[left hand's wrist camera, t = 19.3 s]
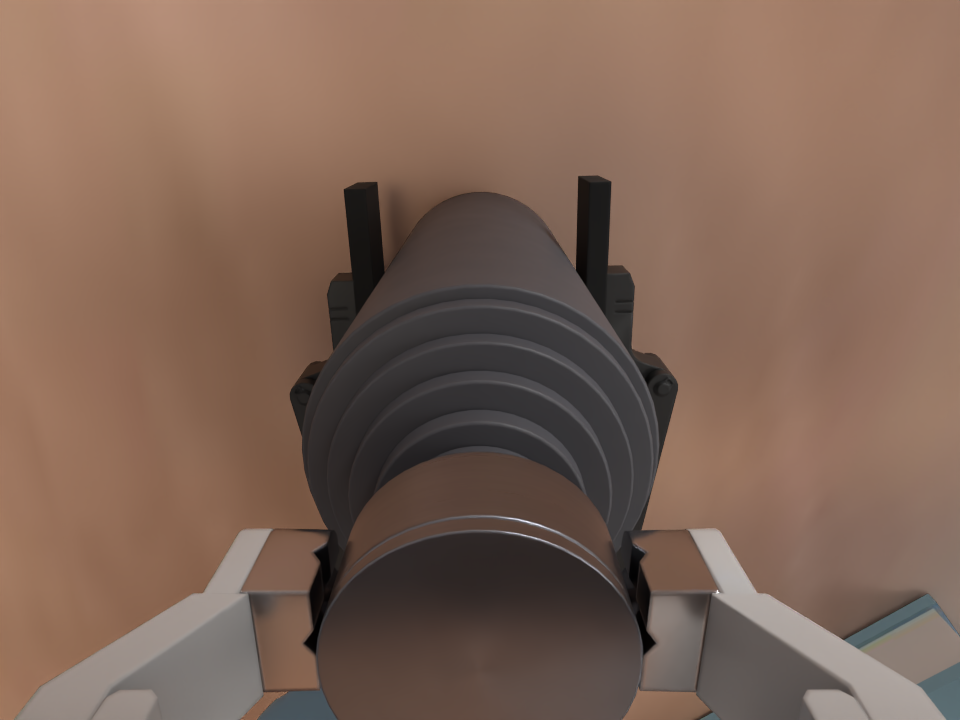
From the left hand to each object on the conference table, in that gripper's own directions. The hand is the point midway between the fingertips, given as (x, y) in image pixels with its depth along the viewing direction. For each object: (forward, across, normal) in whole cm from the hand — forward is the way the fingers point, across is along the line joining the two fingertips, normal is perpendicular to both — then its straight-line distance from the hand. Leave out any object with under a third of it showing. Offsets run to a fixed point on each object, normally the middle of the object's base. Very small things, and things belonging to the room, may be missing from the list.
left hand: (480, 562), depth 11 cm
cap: (-2, 0, 0) cm, 2 cm away
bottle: (+22, 0, 0) cm, 22 cm away
